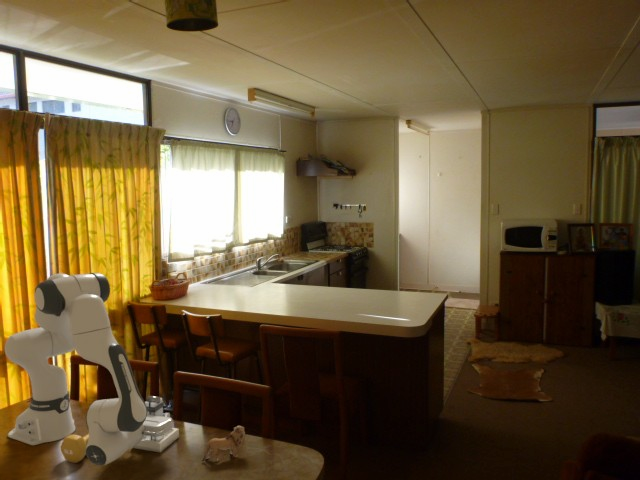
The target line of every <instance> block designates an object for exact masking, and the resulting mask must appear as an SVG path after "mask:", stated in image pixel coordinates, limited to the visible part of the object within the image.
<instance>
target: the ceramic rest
mask: <svg viewBox="0 0 640 480" xmlns="http://www.w3.org/2000/svg"><path fill="white" fill-rule="evenodd" d="M179 430H180V429H179V428H177V427H173V428H172V429H171V430H170V431H169V432H167V433H165V434H164V438H163V439H162V440H160V441H159V442H157V441H150V440H147V436H146V435H145V436H144V438H143V439H142V440H141V441H140V442H139V443H138V444H136V445H135V446H133V447H132V448H131V449H136V450H137V449H138V450H143V451H149V452H156V453H162V452H163V451H164V450H166V448H168V447H169V446H170V445H171V444H172V443H173V442H175V441H176V440H177V439H179V438H180V432H179Z"/></svg>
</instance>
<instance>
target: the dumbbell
mask: <svg viewBox="0 0 640 480" xmlns="http://www.w3.org/2000/svg"><path fill="white" fill-rule="evenodd" d="M88 440H89V433H87V434H86V435H84V436H81V435H78V434H73V433H72V434H70V435H68V436H66V437H64V438H63V440H62V442H61V445H60V451H61V453H62V456H63V458H64V460H65V461H67V462H68V463H73V464H75V463H79V462H80V461H82V460H83V459H84V458H85V456H86V452H85V450H86V446H87V444H88Z"/></svg>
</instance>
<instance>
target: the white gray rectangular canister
mask: <svg viewBox="0 0 640 480" xmlns="http://www.w3.org/2000/svg"><path fill="white" fill-rule="evenodd" d="M144 402H145V404H146V407H147V415H155V416H162V417H163V414H164V409H163V407H165V402H164V401H163V398H162V397H160V396H154V395H147V397H146V401H144ZM163 438H164V435H162V436H159V437H153V436H147V440H150V441H157V442H159V441H160V440H162V439H163Z"/></svg>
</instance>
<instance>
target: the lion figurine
mask: <svg viewBox="0 0 640 480" xmlns="http://www.w3.org/2000/svg"><path fill="white" fill-rule="evenodd" d="M245 435H246V431H245V427H244V426H242V425H237V426H235V427H233V431H231V432H230V433H229V434H228V436H227V437H223V438H217V437H215V438H212V439H209V441H208V442H207V443H206V447H205V451H204V456H203V458H202V460H201V462H205V460H207V459H210V458H211V457H210V456H209V454H210V452H212V455H211V456H212V459H213V460H214V462H216V463H217V462H219V461H220V459H219V458H217V456H216V455H217V452H218V449H219V450H223V451H226V450H229V454H230V455H232V456H233V457H234V458H235V459H236V458H239V457H238V454H237V448H238V447H240V446H241V445H242V444H243V441H244V440H245Z"/></svg>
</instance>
